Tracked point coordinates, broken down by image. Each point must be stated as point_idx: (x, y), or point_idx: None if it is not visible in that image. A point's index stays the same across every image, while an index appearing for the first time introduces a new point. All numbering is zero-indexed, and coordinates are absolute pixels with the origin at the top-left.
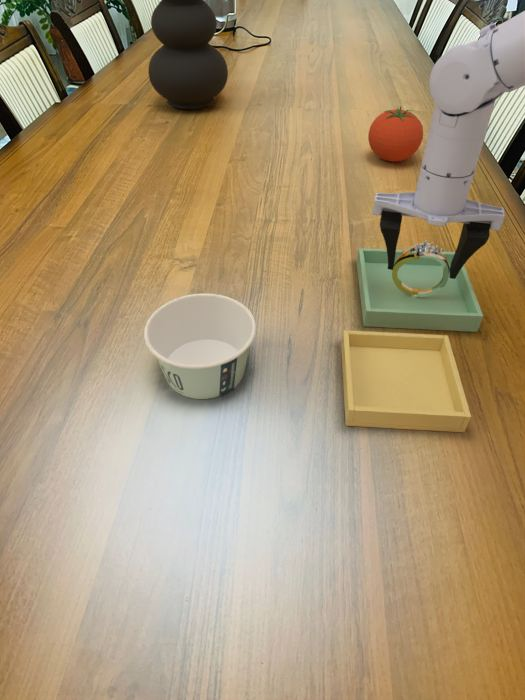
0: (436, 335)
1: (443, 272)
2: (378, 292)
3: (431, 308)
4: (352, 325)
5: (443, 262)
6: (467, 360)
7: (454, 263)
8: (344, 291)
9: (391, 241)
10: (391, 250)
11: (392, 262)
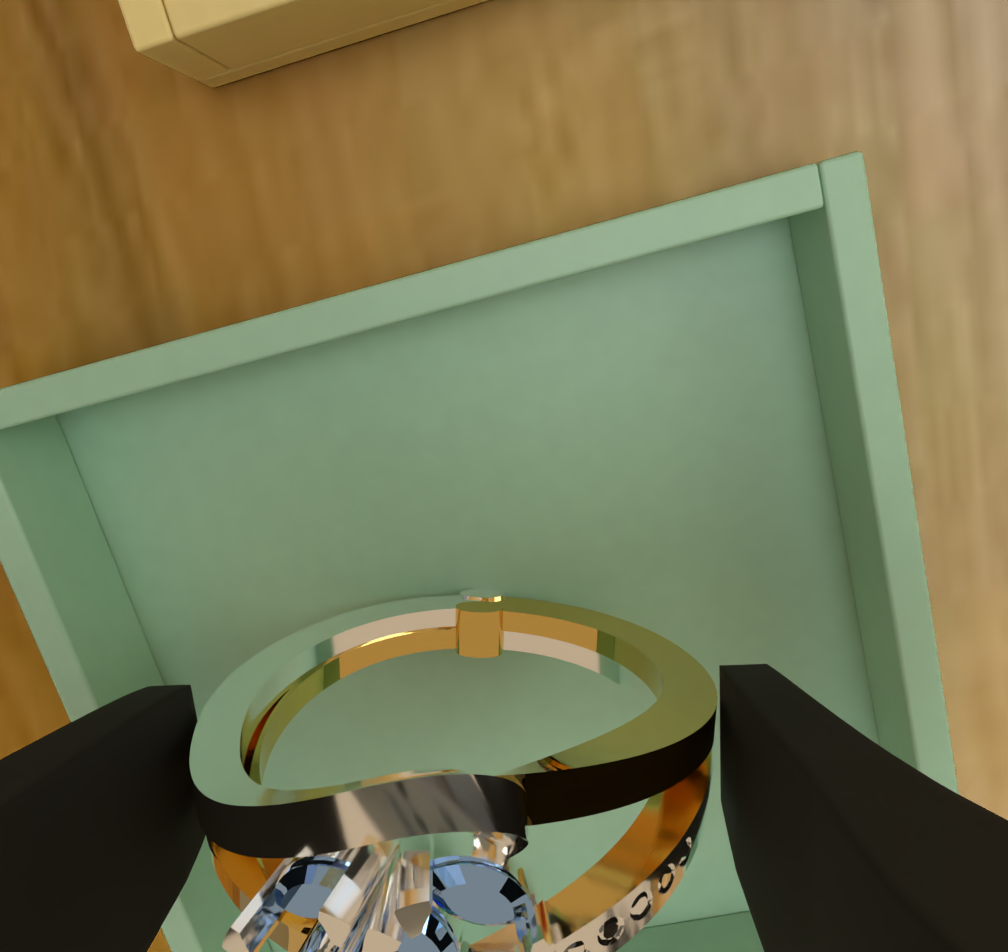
0: (221, 10)
1: (257, 754)
2: (743, 577)
3: (349, 509)
4: (893, 157)
5: (223, 790)
6: (39, 51)
7: (112, 800)
8: (989, 548)
9: (970, 858)
10: (865, 771)
11: (763, 696)
